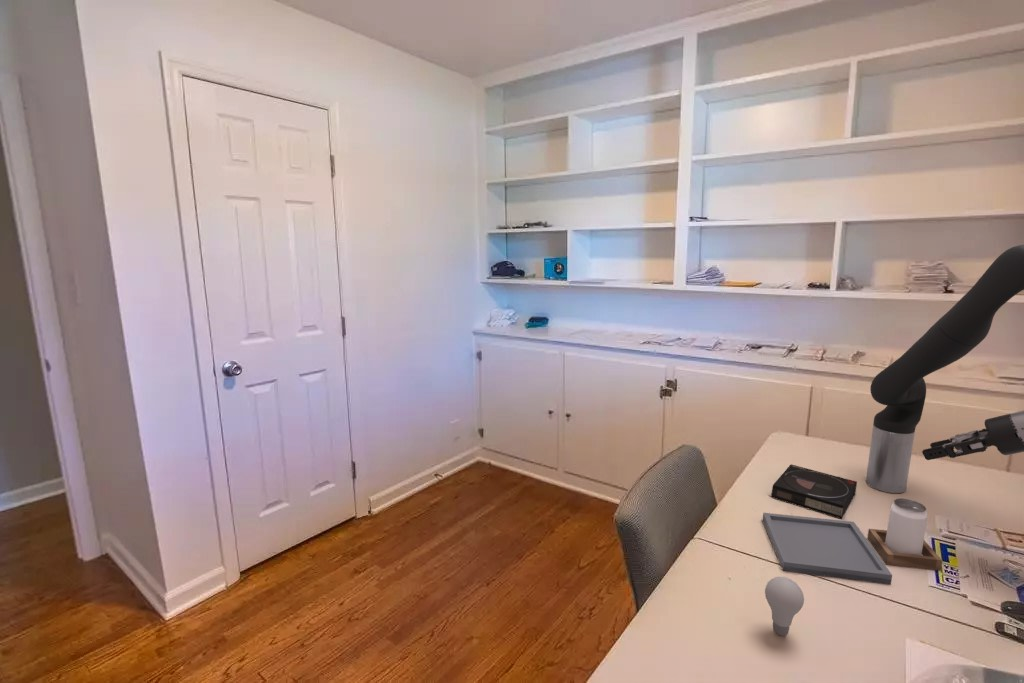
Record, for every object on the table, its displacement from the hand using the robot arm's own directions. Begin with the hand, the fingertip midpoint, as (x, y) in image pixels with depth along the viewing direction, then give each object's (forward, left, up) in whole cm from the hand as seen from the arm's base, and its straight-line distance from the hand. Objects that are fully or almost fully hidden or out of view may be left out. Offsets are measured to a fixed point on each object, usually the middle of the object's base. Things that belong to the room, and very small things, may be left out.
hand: (928, 451), depth 113 cm
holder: (+5, -4, -23) cm, 24 cm away
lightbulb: (+36, -36, -23) cm, 56 cm away
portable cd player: (-19, -15, -23) cm, 34 cm away
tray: (+7, -21, -23) cm, 32 cm away
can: (+5, -4, -23) cm, 24 cm away
